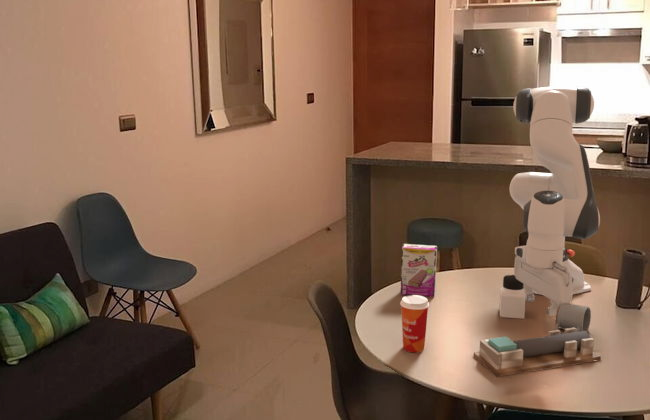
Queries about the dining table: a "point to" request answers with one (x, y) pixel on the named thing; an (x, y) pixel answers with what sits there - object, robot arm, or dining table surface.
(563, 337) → the grey and teal rod
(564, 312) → the ceramic mug
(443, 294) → the dining table surface
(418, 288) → the candy bar box
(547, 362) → the wooden cradle
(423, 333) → the paper cup
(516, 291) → the medicine bottle
